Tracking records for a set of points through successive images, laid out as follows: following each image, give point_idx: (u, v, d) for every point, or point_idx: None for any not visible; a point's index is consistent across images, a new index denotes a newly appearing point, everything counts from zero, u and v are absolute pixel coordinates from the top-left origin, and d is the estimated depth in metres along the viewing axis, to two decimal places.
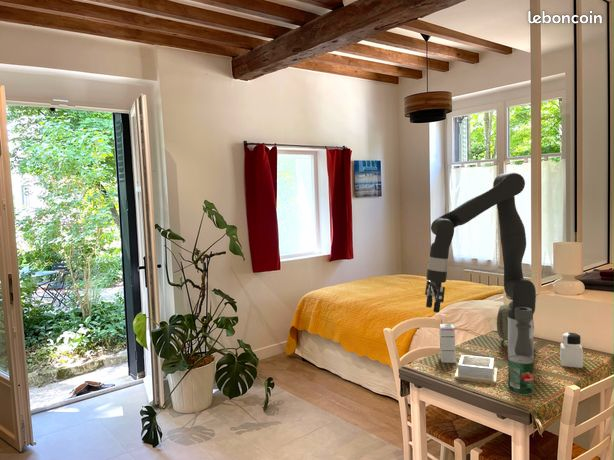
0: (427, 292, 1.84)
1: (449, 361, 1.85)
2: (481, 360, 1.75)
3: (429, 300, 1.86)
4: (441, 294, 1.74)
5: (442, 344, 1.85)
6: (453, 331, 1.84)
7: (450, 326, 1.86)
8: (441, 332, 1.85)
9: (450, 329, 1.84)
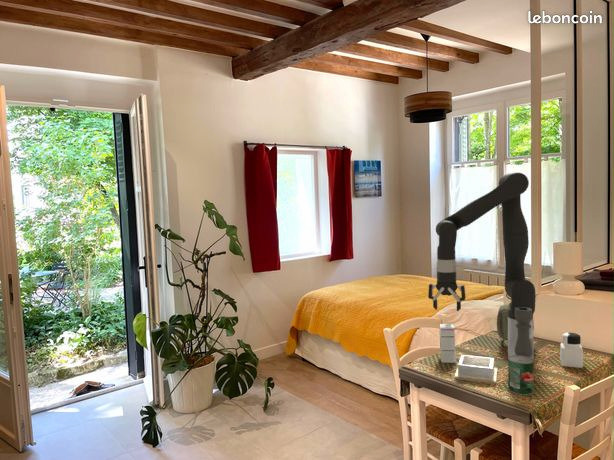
0: (438, 295, 1.86)
1: (449, 361, 1.85)
2: (481, 360, 1.75)
3: (436, 302, 1.88)
4: (464, 292, 1.83)
5: (442, 344, 1.85)
6: (453, 331, 1.84)
7: (450, 326, 1.86)
8: (441, 332, 1.85)
9: (450, 329, 1.84)
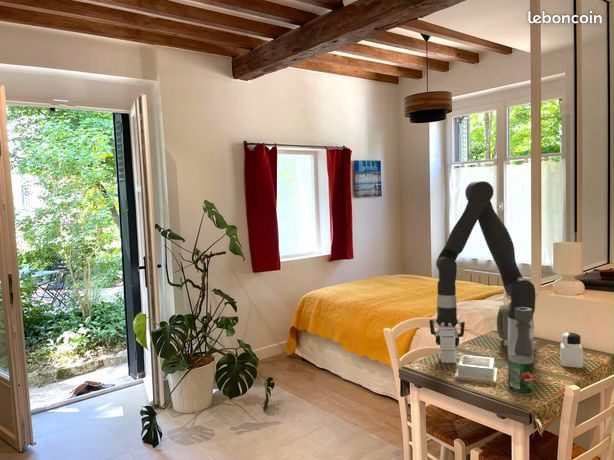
0: (439, 330, 1.87)
1: (449, 361, 1.85)
2: (481, 360, 1.75)
3: (439, 337, 1.89)
4: None
5: (442, 344, 1.85)
6: (453, 331, 1.84)
7: None
8: (441, 332, 1.85)
9: (450, 329, 1.84)
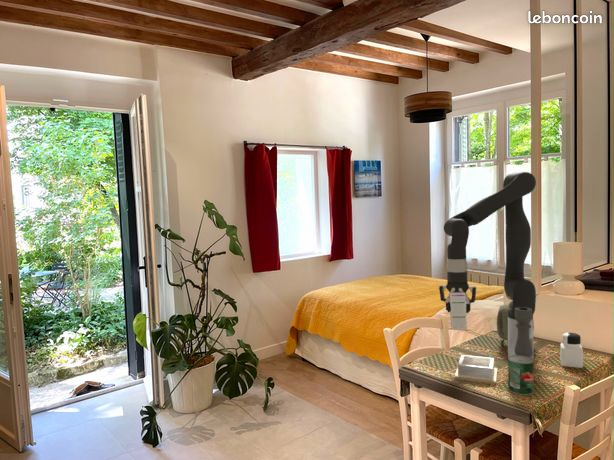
0: (449, 296, 1.80)
1: (460, 328, 1.78)
2: (481, 360, 1.75)
3: (449, 304, 1.81)
4: (475, 294, 1.77)
5: (452, 310, 1.78)
6: (464, 296, 1.77)
7: (461, 292, 1.78)
8: (451, 298, 1.78)
9: (461, 294, 1.77)
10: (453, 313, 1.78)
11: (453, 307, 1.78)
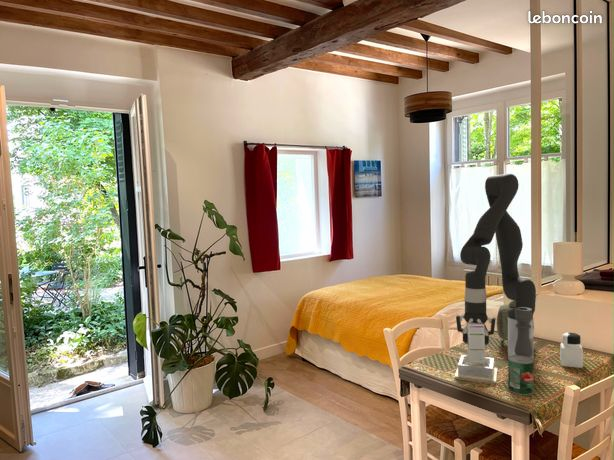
0: (467, 327, 1.71)
1: (478, 361, 1.69)
2: None
3: (466, 335, 1.72)
4: (494, 325, 1.68)
5: (470, 342, 1.69)
6: (483, 328, 1.68)
7: None
8: (469, 329, 1.69)
9: (479, 326, 1.68)
10: (471, 345, 1.69)
11: (471, 339, 1.69)
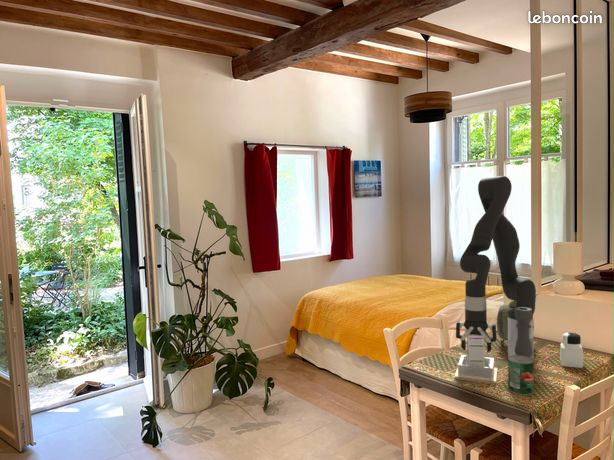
0: (466, 335, 1.71)
1: None
2: None
3: (465, 342, 1.73)
4: None
5: (470, 354, 1.69)
6: (482, 340, 1.68)
7: None
8: (469, 340, 1.69)
9: (479, 338, 1.68)
10: (471, 357, 1.70)
11: (471, 350, 1.69)
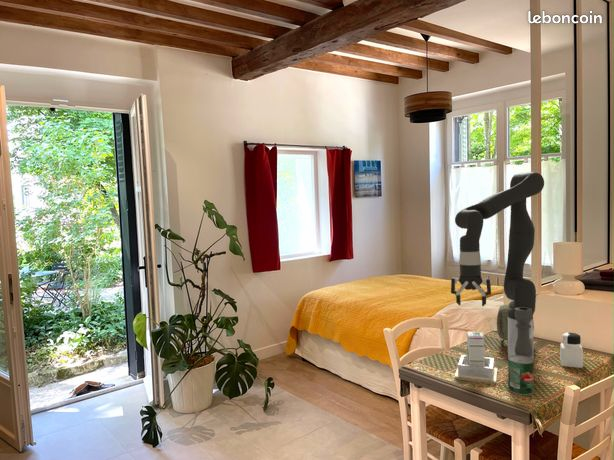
0: (461, 289, 1.74)
1: None
2: None
3: (460, 297, 1.76)
4: (490, 286, 1.72)
5: (470, 354, 1.69)
6: (482, 340, 1.68)
7: (479, 334, 1.70)
8: (469, 341, 1.69)
9: (479, 338, 1.68)
10: (471, 357, 1.69)
11: (471, 351, 1.69)
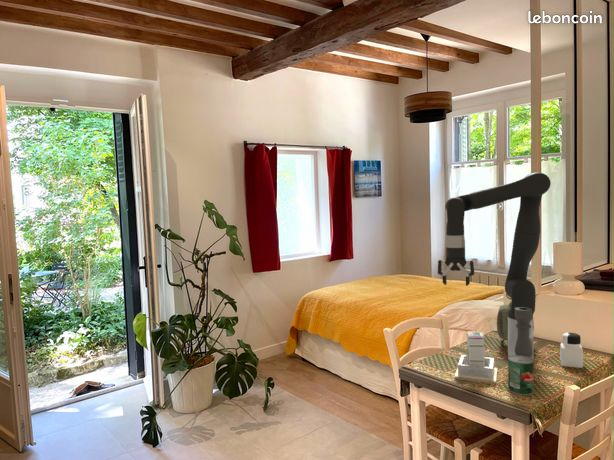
0: (447, 270, 1.90)
1: None
2: None
3: (446, 277, 1.92)
4: (473, 267, 1.87)
5: (470, 354, 1.69)
6: (482, 340, 1.68)
7: (479, 334, 1.70)
8: (469, 341, 1.69)
9: (479, 338, 1.68)
10: (470, 357, 1.69)
11: (471, 351, 1.69)
